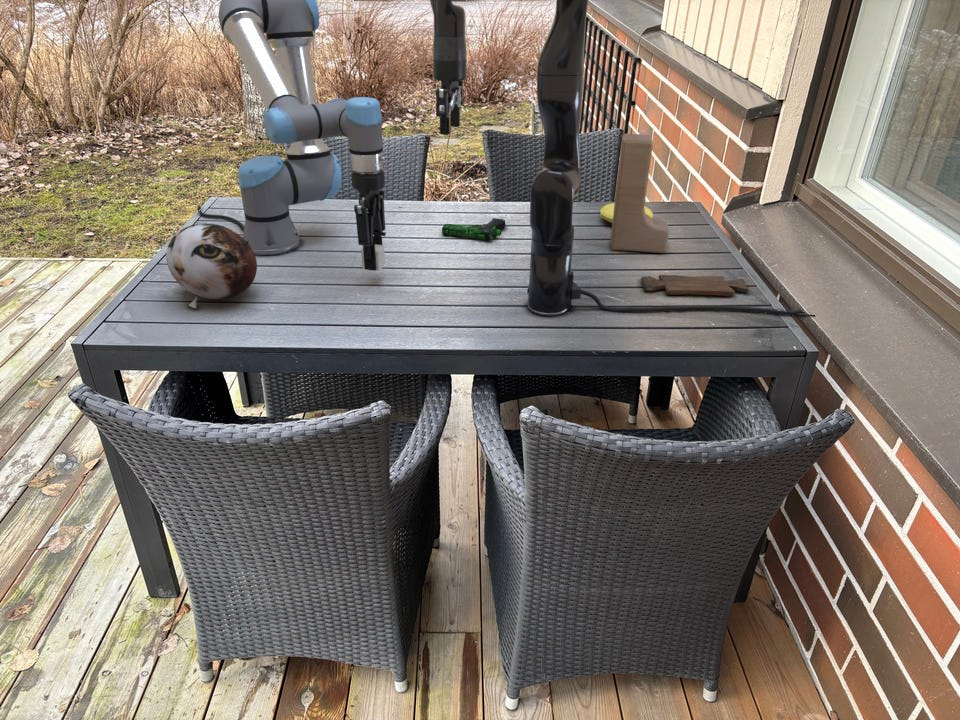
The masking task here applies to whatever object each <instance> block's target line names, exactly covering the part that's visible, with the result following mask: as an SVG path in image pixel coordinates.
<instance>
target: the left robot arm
mask: <svg viewBox="0 0 960 720" xmlns="http://www.w3.org/2000/svg"><path fill="white" fill-rule="evenodd" d="M317 2H318V1H317V0H220V2H219V7H218V22H219V26H220V27H219V28H220V30H221V32H222V34H223V36H224V38H225V40H226V41H227V42H228V43H229V44H230V45H232V46H234V48H235V51H236V52H237V53H238V56H239V58H240V60H241V62H242V64H243V66H244V68H245V70H246V71H247V73H248V75H249V77H250V80H251V81H252V83H253V85H254V87H255V89H256V91H257V93H258V95H259V97H260V99H261V101H262V104H263V105H264V107H265V110H264V112H263V118H262V121H263V128H264V130H265V134H266V136H267V138H268V140H269V141H270V142H271V143H273V144H276V145H279V144H280V145H281V144H290V146H289V148H288V149H287V150H286V152H285V154H286V160H283V158H282V157H281V156H279V155H273V154H270V155H260V156H257V157H253V158H250V159H248V160H245V161H244V162H243V163H241V165H240V166H239V167H238V170H237V174H238V186H239V190H240V196H241V201H242V208H243V212H244V213H243V215H244V219H245V220H244V225H243V223H242V222H241V221H239V220H237V219H236V218H233V217H231V216H227V215H222V214H209V213H204V212H203V211H202V206H200V205H198V206H197V207H196V208H197V211H198V214H199V215H200V216H202V217H205V218H216V219H225V220H228V221H231V222H233V223H235V224H237V225H238V226H239V227H240V228H241V230H242V231H243V235H242V237H243V238H244V239H245V240H246V241H249V242H248V244H249V245H250V247H251V248H252V250H253V252H254V254H255V256H256V255H257V256H275V255H281V254H282V255H283V254H285V253H289V252H291V251H293V250H296V249H297V248H298V247H299V246H300V244H301V241H300V235H299V233H298V229H297V228H296V227H295V225H294V223H293V220H292V218H291V216H290V207H289V206H294V205H300V204H306V203H310V202H311V203H312V202H316V201H319V202H321V201H324V200H328V199H332V198H334V197H336V196H337V195H338V194H339V192H340V189H341V187H342V178H343V177H342V175H343V174H342V168H341V167H342V166H341V164H340V161H339V158H338V157H337V155H335V154H334V153H331V148H330V147H329V146H328V145H327V144H325V142H324V139H329V138H337V137H345V138H347V139H348V140H347V141H348V153H349V166H350V167H349V168H350V170H351V172H350V175H351V176H350V177H351V187H352V188H353V189H354V190H355V191H357V192H358V204H354V205H353V211H354V214H355V221H356V222H355V223H356V233H357V243H358V246H362V248H363V253H364V266H365V269H364V270H366V271H374V272H375V271H377V270H376V255H375V244H376V245H383V237H386V235H387V232H385V231H386V217H385V216H386V215H385V190H384V189H383V188H385V186H386V175H385V170H384V167H385V164H384V162H385V161H386V157H385V156H384V146H383V145H384V144H383V124H382V122H383V117H382V116H383V115H382V111H381V105H380V101H379V100H378V99H377V98H374V97H369V96H357V97H351V98H348V99H345V98H339V97H338V98H337V97H335V98H331V99H329V100H328V101H327V102H321V103H318V97H317V91H316V84H315V78H314V71H313V64H312V57H311V49H310V45H311V43H312V42H313V40H314V39H315V36H314V32H315V31H317V30H318V29H319V27H320V17H321V16H320V9H319V5H318V3H317ZM272 47H273V48H274V49H273V48H272ZM200 209H201V210H200ZM199 210H200V211H199Z"/></svg>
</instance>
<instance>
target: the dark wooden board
mask: <svg viewBox="0 0 960 720" xmlns="http://www.w3.org/2000/svg"><path fill="white" fill-rule="evenodd" d="M640 280H641V286H642V288H643V289H644V291H645V292H657V291H661V290H664V291H665V294H666V295H668V296H669V295H672V296H678V295H703V296H705V295H707V296H724V297H725V296H726V297H727V296H728V297H729V296H730V297H731V296H734V295H735V294H736V292H739V293H747V292H748V286H747V284H746V281H745V279H744V278H736V279H732V280H731V279H730V280H725V276H724V275H677V274H676V275H675V274H659V275H658V278H656V277H653V276H650V275H649V276H646V275H645V276H641V278H640Z"/></svg>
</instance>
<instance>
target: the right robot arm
mask: <svg viewBox="0 0 960 720" xmlns="http://www.w3.org/2000/svg"><path fill="white" fill-rule="evenodd" d="M429 3H430V7H431V10H432V15H433V39H432V40H433V41H432V68H433V69H432V72H433V73H432V75H433V76H432V77H433V79H434V80H435V81H439V82H440V88H439V87H438V88H436V89H435V115H436V117H438V118H439V134H440V135H442V136H449V135H450V133H451V127H452V128H459V127H460V126H461V110H462V107H463V106H464V81H465V80H466V79H467V39H466V11H465V8H464V7H463V6H461V5H458V4H454V3H453V1H452V0H429ZM588 5H589V0H555V12H554V18H553V21H552V25H551V26H550V30H549V31H548V34H547V37H546V39H545V41H544V43H543V46H542V48H541V50H540V53H539V55H538V60H537V64H536V98H537V107H538V112H539V116H540V120H541V124H542V128H543V129H542V130H543V133H544V151H543V161H542V169H541V170H540V171H539V172H538V173H537V174H536V175H535V177H534V178H533V180H532V183H531V188H530V198H529V199H530V200H529V227H530V229H531V239H530V241H531V243H530V260H529V275H528V276H529V278H528V288H527V289H526V290H527V292H526V294H527V295H528V296H527V309H528V310H529V311H530V312H531V313H533V314H536V315H539V316H543V317H544V316H545V317H556V316H560V315H563V314H565V313H567V312H571V311H572V301H573V300H574V301H575V300H580V299H581V297H582V295H583V296H586V297H589V298H591V299H592V300H594V302H595V303H596V305H597V306H598V307H599V309H601V310H604V311H607V312H614V313H625V312H627V313H628V312H633V313H634V312H638V313H639V312H643V313H644V312H663V311H665V312H666V311H669V312H670V311H697V310H698V311H701V310H703V311H705V310H707V311H709V310H710V311H715V310H717V311H743V312H754V313H755V312H757V313H768V314H777V315H791V316H792V315H800V314H806V313H805V312H802V310H801V309H802V308H799V309H784V310H785V311H786V312H785V311H778V308H768V307H756V306H755V307H753V306H740V305H708V304H707V305H701V304H700V305H670V306H669V305H668V306H647V307H645V306H643V307H641V306H639V307H638V306H637V307H636V306H635V307H633V306H630V307H627V306H625V307H612V306H608V305H606V304H603V303H602V302H601V300H600V299H599V297H598V296H597V295H595V294H593V293H592V292H590V291H587V290H584V289H582V288H581V287H580V286H579V285H578V284H577V283H576V282H575V281H574V278H575V275H574V274H575V273H574V271H573V270H572V259H573V247H574V237H575V227H574V224H573V211H574V200H575V198H576V197H578V194H579V192H580V189H581V185H582V175H581V161H580V129H581V119H582V118H581V117H582V107H583V96H584V95H583V93H584V69H585V67H584V66H585V65H584V64H585V63H584V62H585V61H584V60H585V59H584V58H585V42H586V26H587V13H588Z"/></svg>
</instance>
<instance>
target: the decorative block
mask: <svg viewBox="0 0 960 720" xmlns="http://www.w3.org/2000/svg"><path fill="white" fill-rule="evenodd" d="M653 145H654V143H653V138H652V136H651V135H650V134H640V133H639V134H638V133H624V134H622V136H621V143H620V153H619V162H618V172H617V179H616V188H615V197H614V203H615V205H614V213H613V222H612V223H611V231H610V248H611V250H613V251H624V252H625V251H626V252H641V253H657V254H665V253H667V250H668V244H669V237H670V228H669V225H668V221H666V220H662V219H657V218H653V217H652V218H651V217H650V216H648V215H647V214H646V213H645V209H644V206H645V205H646V198H647V191H648V190H647V189H648V183H649V175H650V168H651V160H652V154H653ZM645 207H646V206H645Z"/></svg>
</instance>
